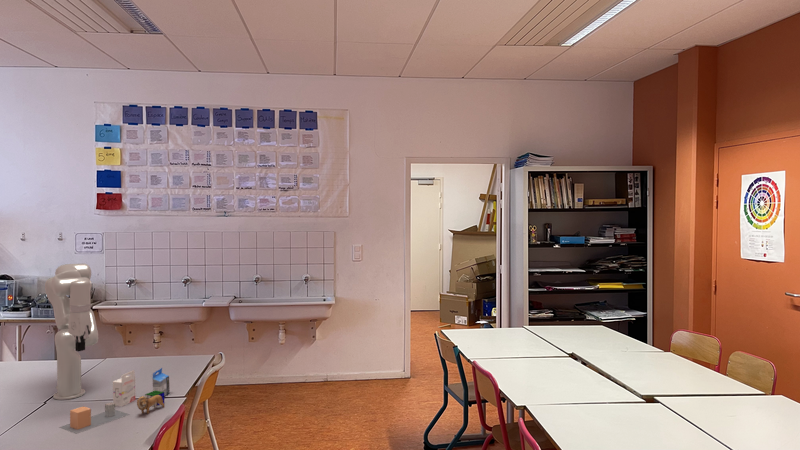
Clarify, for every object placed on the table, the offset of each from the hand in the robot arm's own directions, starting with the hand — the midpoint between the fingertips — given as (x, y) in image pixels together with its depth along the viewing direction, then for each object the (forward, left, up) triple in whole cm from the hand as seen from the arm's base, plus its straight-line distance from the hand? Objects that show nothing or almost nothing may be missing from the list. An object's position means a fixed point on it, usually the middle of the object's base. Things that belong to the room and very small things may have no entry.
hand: (80, 350), depth 221 cm
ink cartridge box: (+9, +14, -27) cm, 32 cm away
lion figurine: (+28, +14, -27) cm, 41 cm away
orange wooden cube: (+18, -10, -26) cm, 33 cm away
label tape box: (+14, +29, -27) cm, 42 cm away
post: (+18, +2, -26) cm, 31 cm away
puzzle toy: (+22, +20, -27) cm, 40 cm away
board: (+18, -4, -27) cm, 32 cm away
